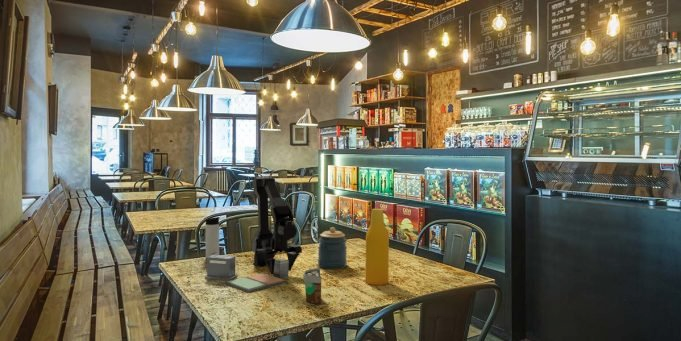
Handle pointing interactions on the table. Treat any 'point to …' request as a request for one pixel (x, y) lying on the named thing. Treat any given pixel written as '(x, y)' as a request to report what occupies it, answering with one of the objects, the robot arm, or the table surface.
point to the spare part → (281, 268)
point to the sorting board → (255, 282)
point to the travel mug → (212, 236)
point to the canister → (332, 250)
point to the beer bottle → (377, 250)
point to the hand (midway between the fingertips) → (280, 272)
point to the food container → (313, 286)
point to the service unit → (221, 267)
